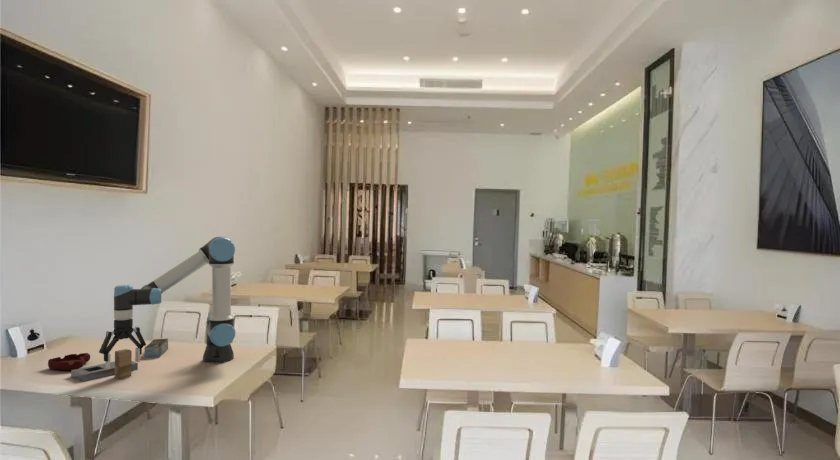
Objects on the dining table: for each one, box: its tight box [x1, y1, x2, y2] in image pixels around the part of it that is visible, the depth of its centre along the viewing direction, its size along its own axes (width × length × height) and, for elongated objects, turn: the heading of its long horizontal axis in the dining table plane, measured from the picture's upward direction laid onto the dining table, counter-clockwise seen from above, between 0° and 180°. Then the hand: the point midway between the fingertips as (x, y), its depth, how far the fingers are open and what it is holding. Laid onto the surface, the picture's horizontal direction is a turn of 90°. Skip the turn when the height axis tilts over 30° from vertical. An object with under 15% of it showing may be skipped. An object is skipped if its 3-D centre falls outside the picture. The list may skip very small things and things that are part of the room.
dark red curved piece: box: [47, 352, 91, 371], centre depth 247 cm, size 18×16×5 cm
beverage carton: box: [144, 338, 169, 359], centre depth 275 cm, size 8×19×7 cm, turn 14°
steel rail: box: [70, 360, 139, 382], centre depth 238 cm, size 12×24×3 cm, turn 146°
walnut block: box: [114, 348, 133, 380], centre depth 232 cm, size 5×5×12 cm
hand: (123, 364), depth 232 cm, fingers open, 12 cm apart
